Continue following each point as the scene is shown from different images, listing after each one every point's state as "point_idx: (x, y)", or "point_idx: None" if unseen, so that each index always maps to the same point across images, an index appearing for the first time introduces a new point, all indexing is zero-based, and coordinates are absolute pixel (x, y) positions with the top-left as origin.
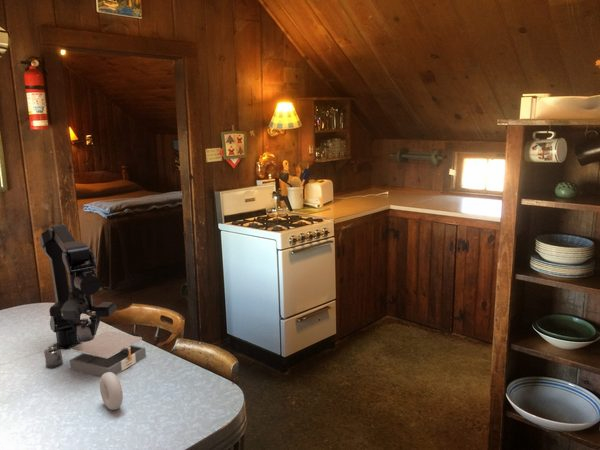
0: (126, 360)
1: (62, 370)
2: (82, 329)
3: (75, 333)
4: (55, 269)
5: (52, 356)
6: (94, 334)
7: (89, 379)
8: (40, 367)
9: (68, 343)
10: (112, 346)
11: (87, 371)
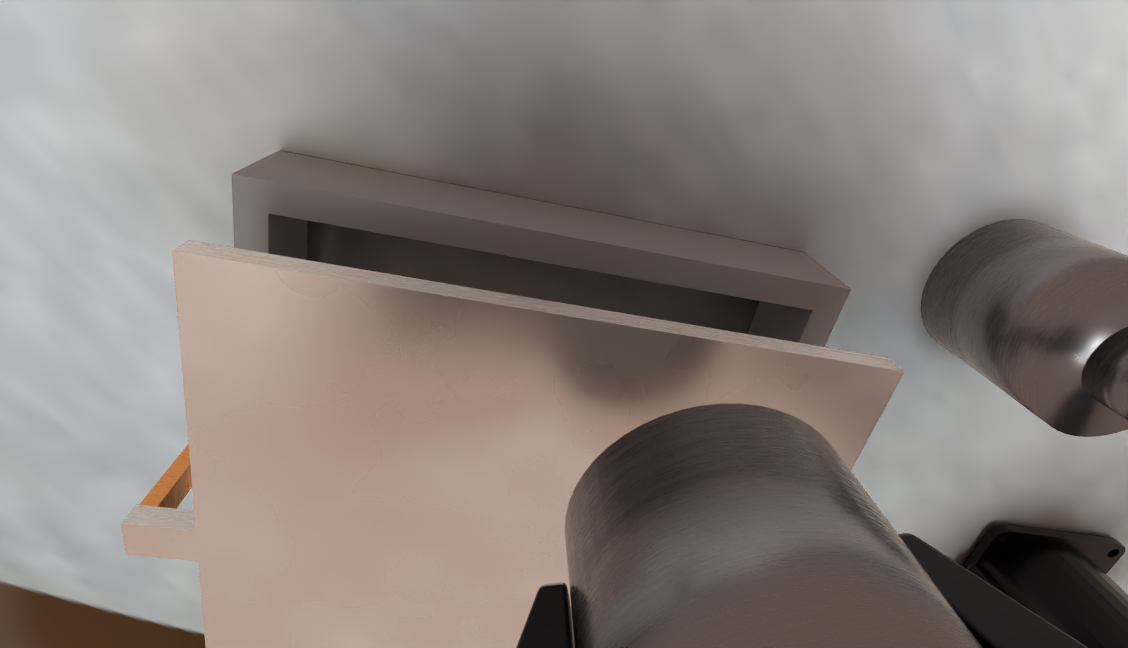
0: None
1: (871, 212)
2: None
3: (960, 565)
4: None
5: (1080, 280)
6: (530, 618)
7: (481, 90)
8: (1114, 224)
9: (1009, 575)
10: (373, 522)
11: (588, 215)
